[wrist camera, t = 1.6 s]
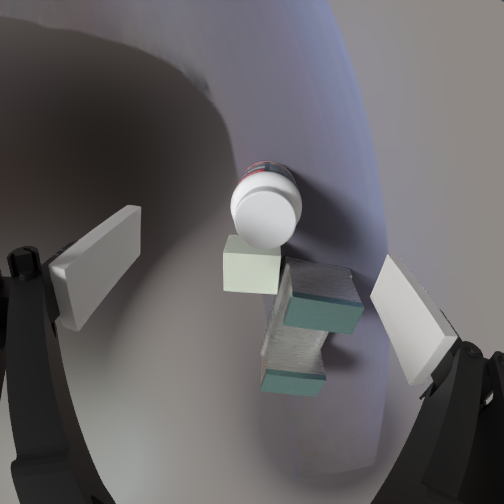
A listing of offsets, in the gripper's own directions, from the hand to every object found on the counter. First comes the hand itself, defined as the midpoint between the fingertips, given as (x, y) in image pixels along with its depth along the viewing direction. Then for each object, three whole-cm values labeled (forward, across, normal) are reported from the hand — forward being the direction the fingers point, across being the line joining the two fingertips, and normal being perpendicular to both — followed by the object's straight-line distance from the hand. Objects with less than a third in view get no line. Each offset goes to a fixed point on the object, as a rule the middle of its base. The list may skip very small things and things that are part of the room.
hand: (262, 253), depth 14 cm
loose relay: (+13, 0, -7) cm, 15 cm away
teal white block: (+13, +7, -13) cm, 20 cm away
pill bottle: (+13, 0, 0) cm, 13 cm away
